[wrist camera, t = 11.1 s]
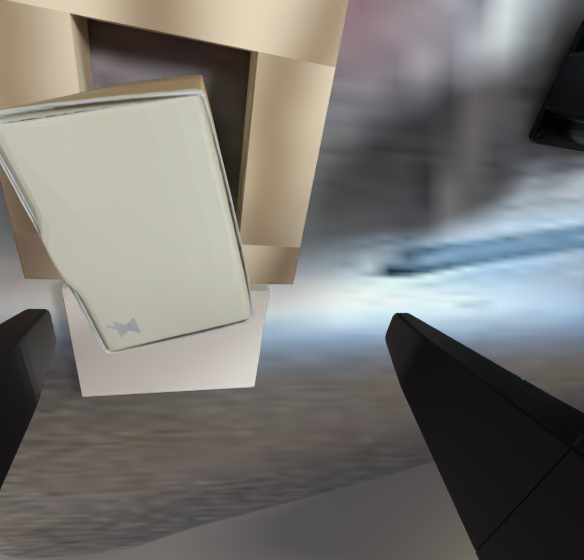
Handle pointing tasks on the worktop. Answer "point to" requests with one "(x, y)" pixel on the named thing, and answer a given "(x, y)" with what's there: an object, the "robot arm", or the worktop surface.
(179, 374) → the tile
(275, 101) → the frame
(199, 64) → the worktop surface
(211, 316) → the skincare box
